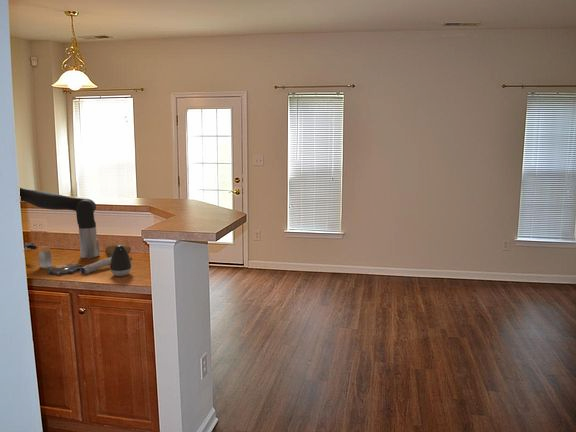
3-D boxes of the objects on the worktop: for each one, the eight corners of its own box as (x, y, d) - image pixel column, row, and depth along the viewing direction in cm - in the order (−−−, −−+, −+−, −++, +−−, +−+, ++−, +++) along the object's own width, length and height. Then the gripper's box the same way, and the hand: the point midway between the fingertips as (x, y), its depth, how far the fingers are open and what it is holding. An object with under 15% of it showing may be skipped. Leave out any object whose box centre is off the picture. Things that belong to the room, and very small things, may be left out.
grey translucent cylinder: (46, 265, 259) (44, 245, 257) (51, 266, 257) (50, 246, 255) (39, 267, 255) (38, 247, 253) (45, 268, 254) (43, 248, 252)
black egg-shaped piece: (111, 278, 235) (109, 248, 233) (110, 273, 245) (108, 244, 242) (133, 276, 239) (131, 246, 237) (130, 271, 249) (129, 242, 246)
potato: (135, 257, 276) (134, 241, 274) (111, 263, 264) (110, 246, 262) (126, 255, 281) (125, 239, 279) (102, 260, 269) (101, 244, 267)
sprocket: (72, 264, 261) (72, 261, 260) (88, 270, 250) (88, 267, 250) (40, 271, 248) (40, 268, 248) (55, 277, 237) (55, 274, 237)
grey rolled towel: (78, 266, 243) (118, 250, 263) (81, 278, 245) (120, 261, 265) (84, 268, 240) (125, 251, 260) (87, 280, 242) (127, 262, 262)
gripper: (-6, 242, 256) (17, 245, 251) (17, 237, 269) (39, 239, 264) (-5, 255, 257) (18, 259, 252) (18, 250, 271) (40, 253, 265)
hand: (29, 249), depth 258 cm, fingers open, 8 cm apart
